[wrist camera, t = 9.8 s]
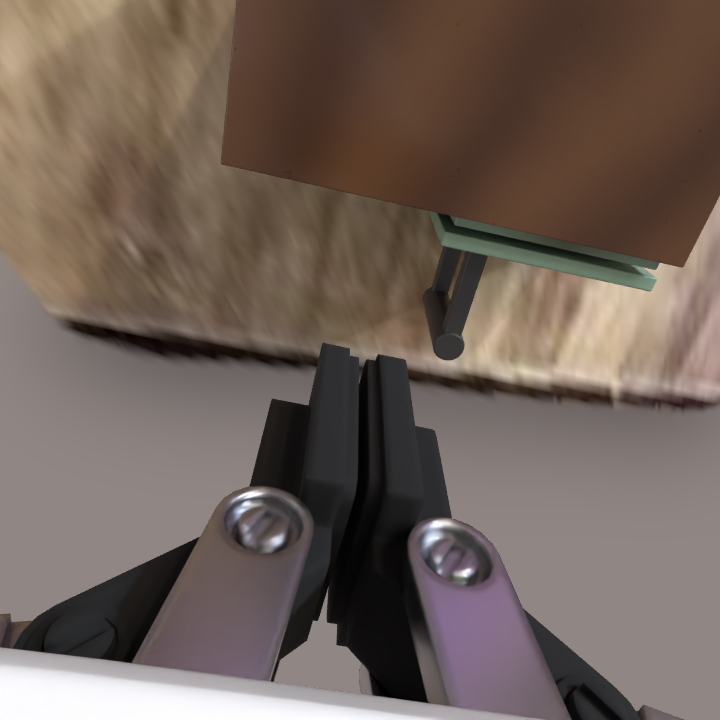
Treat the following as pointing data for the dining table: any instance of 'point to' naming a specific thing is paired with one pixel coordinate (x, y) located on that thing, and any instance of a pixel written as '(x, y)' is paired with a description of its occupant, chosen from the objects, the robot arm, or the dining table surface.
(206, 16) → the dining table surface
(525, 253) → the sliding door
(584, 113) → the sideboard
